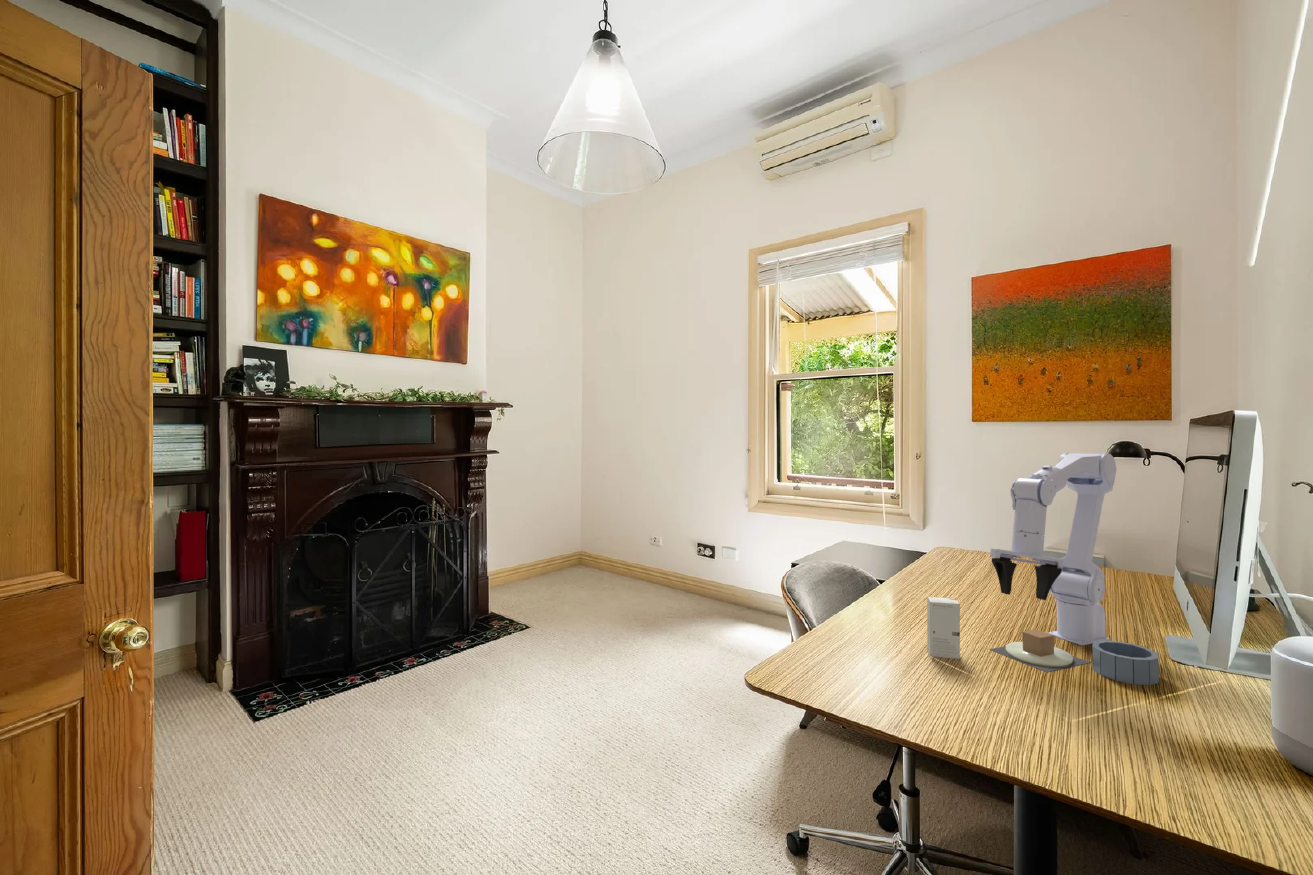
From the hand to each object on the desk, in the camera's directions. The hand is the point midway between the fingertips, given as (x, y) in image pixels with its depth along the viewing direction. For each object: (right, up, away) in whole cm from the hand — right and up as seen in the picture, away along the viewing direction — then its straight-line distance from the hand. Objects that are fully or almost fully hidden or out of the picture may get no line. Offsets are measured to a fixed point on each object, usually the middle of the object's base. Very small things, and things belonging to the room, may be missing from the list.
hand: (1023, 596), depth 119 cm
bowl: (+15, -13, -9) cm, 21 cm away
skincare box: (-15, -14, +3) cm, 21 cm away
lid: (+4, -13, +1) cm, 14 cm away
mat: (+4, -13, +1) cm, 14 cm away
